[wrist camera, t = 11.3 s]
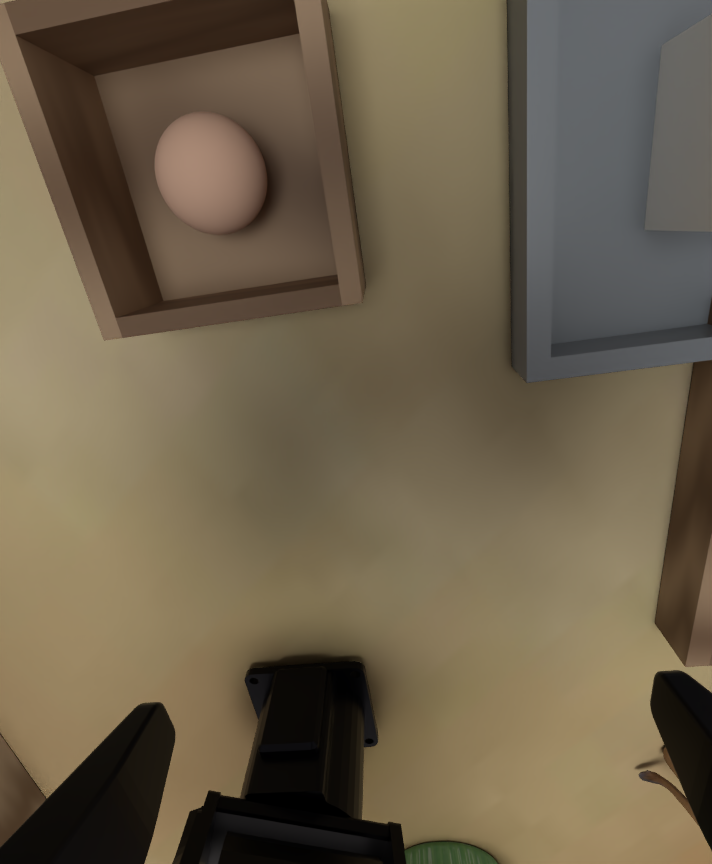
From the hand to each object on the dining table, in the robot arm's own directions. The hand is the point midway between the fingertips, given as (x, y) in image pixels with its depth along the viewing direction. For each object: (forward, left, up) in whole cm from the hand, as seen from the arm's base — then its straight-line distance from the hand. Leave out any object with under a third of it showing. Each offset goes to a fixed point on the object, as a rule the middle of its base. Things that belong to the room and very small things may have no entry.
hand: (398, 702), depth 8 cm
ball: (+10, +4, -11) cm, 16 cm away
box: (+10, +4, -12) cm, 16 cm away
